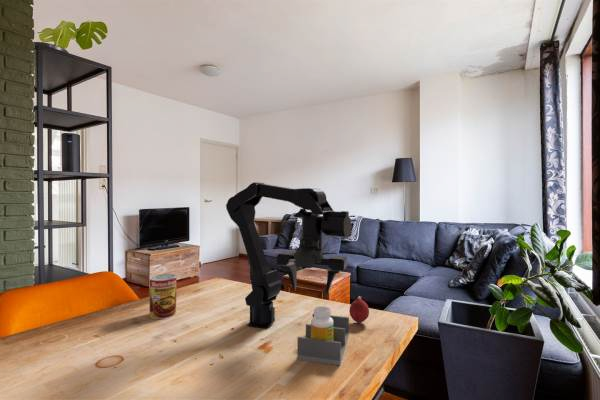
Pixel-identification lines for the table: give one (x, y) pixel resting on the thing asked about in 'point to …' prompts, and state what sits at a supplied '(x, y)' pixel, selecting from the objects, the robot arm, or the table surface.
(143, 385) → the table surface
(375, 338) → the table surface
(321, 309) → the supplement bottle
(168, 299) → the canned food
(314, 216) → the robot arm
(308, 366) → the table surface
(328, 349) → the rack
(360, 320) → the onion
